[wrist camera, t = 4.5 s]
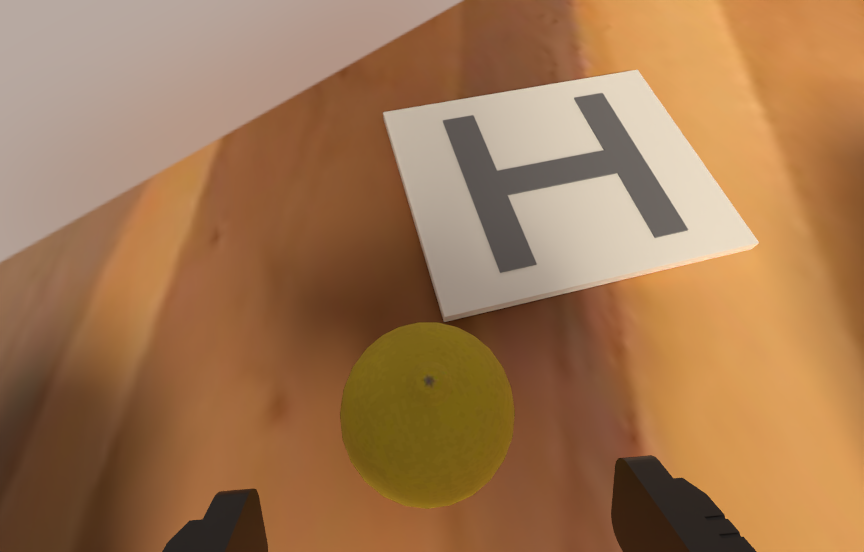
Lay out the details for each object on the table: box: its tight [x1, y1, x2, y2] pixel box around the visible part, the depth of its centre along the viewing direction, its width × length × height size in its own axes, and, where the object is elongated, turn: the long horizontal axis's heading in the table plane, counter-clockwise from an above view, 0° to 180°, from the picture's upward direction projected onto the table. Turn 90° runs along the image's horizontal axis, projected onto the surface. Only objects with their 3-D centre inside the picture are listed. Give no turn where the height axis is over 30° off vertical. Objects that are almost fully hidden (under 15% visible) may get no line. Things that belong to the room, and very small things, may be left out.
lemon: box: [340, 322, 515, 509], centre depth 15 cm, size 6×6×8 cm
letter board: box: [383, 70, 759, 322], centre depth 25 cm, size 16×13×1 cm
